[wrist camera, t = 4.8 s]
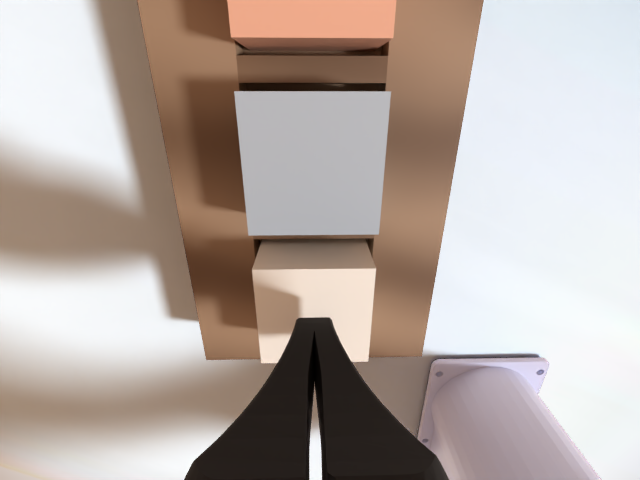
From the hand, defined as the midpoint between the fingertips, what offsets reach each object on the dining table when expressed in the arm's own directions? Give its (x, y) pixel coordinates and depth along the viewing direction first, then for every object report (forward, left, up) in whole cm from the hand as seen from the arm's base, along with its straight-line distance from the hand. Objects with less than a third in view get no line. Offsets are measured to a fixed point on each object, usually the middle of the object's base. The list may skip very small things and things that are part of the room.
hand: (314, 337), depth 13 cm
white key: (0, 0, -5) cm, 5 cm away
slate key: (+6, 0, -5) cm, 8 cm away
